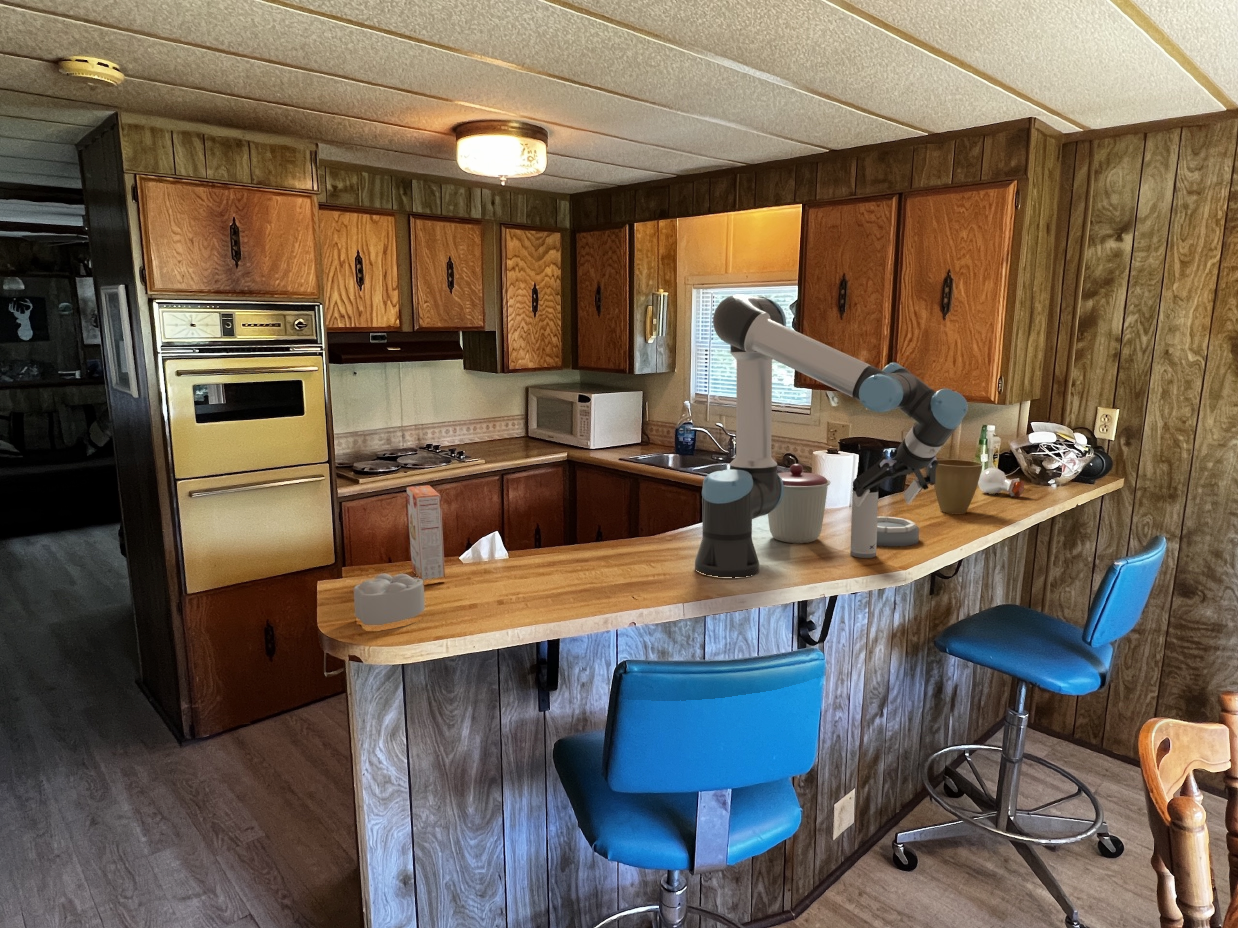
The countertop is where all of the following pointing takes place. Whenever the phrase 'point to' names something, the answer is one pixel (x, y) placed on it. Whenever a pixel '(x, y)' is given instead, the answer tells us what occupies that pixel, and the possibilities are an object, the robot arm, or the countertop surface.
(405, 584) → the lumpy-topped squat cylinder
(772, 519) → the canister
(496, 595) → the countertop surface
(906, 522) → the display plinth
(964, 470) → the plant pot
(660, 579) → the countertop surface
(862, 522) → the travel mug
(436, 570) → the cracker box
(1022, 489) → the potion bottle
